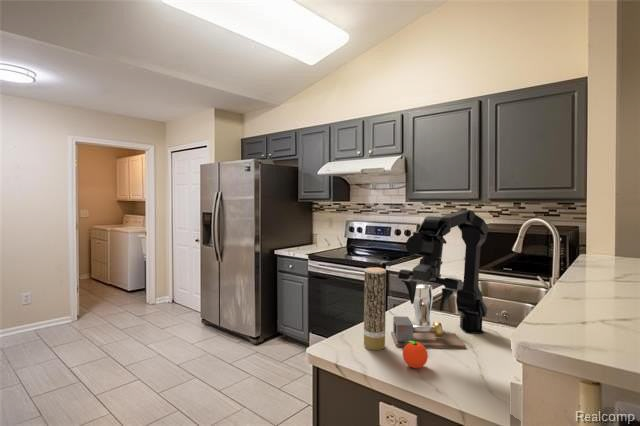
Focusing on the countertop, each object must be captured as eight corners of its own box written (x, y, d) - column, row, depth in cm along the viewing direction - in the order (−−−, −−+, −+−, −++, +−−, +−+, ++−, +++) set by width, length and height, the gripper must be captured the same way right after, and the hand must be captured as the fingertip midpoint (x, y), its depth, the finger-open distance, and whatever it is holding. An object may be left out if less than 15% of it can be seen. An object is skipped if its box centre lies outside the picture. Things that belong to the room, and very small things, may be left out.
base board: (454, 335, 121) (454, 333, 121) (465, 348, 111) (465, 345, 111) (391, 334, 122) (391, 331, 122) (396, 346, 112) (396, 343, 112)
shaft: (438, 333, 118) (438, 320, 118) (442, 339, 114) (442, 325, 113) (402, 333, 119) (403, 319, 119) (405, 338, 114) (405, 324, 114)
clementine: (394, 362, 101) (395, 338, 101) (412, 357, 104) (412, 334, 104) (414, 375, 94) (415, 349, 94) (432, 369, 97) (433, 344, 97)
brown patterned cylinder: (389, 346, 112) (390, 269, 111) (377, 353, 107) (378, 273, 106) (371, 340, 117) (372, 266, 116) (359, 346, 112) (360, 269, 111)
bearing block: (407, 333, 120) (407, 316, 120) (412, 342, 112) (413, 325, 112) (393, 332, 121) (393, 316, 120) (397, 342, 113) (397, 324, 112)
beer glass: (433, 330, 126) (433, 289, 125) (413, 328, 127) (413, 288, 127) (430, 323, 133) (431, 284, 132) (412, 321, 134) (412, 283, 133)
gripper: (392, 251, 108) (386, 301, 107) (453, 260, 96) (447, 317, 95) (408, 252, 116) (402, 299, 115) (466, 261, 104) (460, 313, 103)
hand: (426, 307), depth 107 cm, fingers open, 9 cm apart
